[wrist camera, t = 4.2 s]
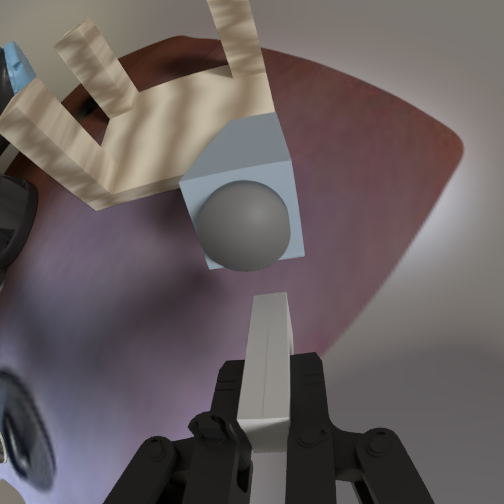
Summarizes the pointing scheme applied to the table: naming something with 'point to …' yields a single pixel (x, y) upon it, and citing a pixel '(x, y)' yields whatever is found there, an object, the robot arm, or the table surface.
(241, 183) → the pale blue upright post
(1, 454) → the coffee can
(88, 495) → the table surface
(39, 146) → the upturned stool
